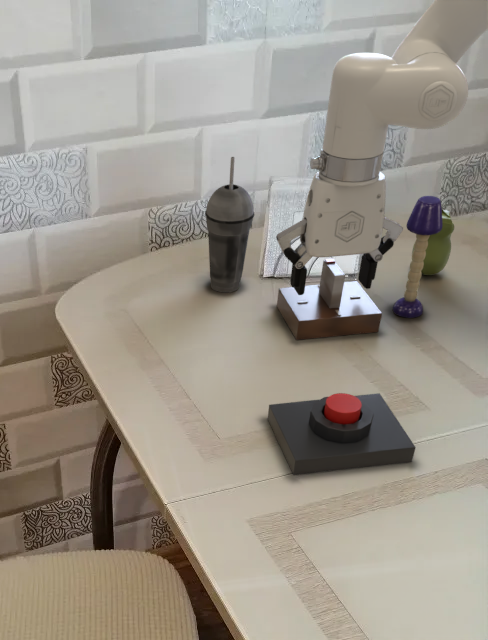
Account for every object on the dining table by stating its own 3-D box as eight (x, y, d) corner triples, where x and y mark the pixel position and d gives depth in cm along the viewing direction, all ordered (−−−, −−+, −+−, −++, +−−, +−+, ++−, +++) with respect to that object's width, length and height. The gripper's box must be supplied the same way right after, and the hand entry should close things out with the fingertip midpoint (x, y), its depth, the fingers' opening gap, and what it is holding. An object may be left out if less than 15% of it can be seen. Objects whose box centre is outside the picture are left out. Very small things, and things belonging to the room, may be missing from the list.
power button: (352, 403, 94) (354, 391, 93) (364, 423, 91) (366, 411, 90) (319, 407, 94) (321, 394, 93) (330, 427, 91) (332, 414, 90)
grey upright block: (339, 307, 113) (345, 273, 109) (329, 308, 112) (335, 274, 109) (328, 291, 116) (333, 257, 113) (318, 292, 116) (323, 258, 113)
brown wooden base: (353, 299, 121) (357, 279, 118) (378, 332, 113) (382, 312, 111) (276, 306, 120) (278, 287, 118) (296, 340, 112) (298, 320, 110)
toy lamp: (412, 322, 115) (439, 208, 104) (382, 312, 117) (406, 200, 106) (427, 309, 117) (455, 197, 106) (398, 300, 120) (422, 189, 109)
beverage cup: (249, 276, 127) (260, 146, 114) (247, 297, 122) (258, 164, 109) (204, 274, 128) (209, 145, 115) (199, 295, 123) (204, 162, 110)
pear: (443, 266, 127) (459, 205, 121) (445, 282, 124) (462, 219, 117) (407, 264, 128) (421, 203, 122) (408, 279, 125) (422, 216, 118)
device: (376, 407, 100) (382, 380, 97) (412, 462, 91) (419, 434, 89) (267, 418, 99) (270, 392, 96) (293, 475, 90) (297, 447, 88)
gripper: (293, 180, 98) (279, 305, 110) (427, 169, 100) (400, 294, 111) (276, 159, 104) (264, 281, 115) (404, 149, 105) (380, 270, 116)
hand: (331, 287), depth 113 cm, fingers open, 9 cm apart
